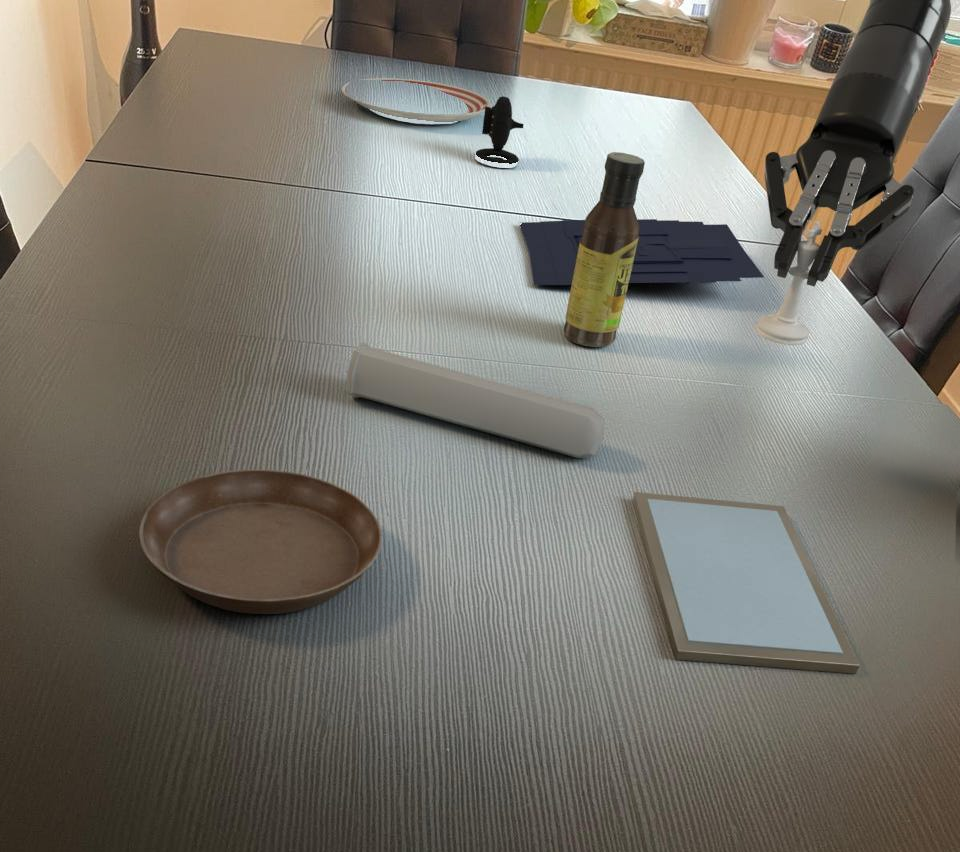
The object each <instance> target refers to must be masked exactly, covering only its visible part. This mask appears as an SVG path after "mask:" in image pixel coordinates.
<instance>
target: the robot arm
mask: <svg viewBox="0 0 960 852" xmlns="http://www.w3.org/2000/svg"><path fill="white" fill-rule="evenodd" d="M951 15H952V3H951V0H869V5H868V7H867V10H866V12H865V14H864V17H863V19H862V21H861V23H860V26H859V28H858V30H857V33H856V35H855V37H854V40H853V42H852V44H851V46H850V48H849V49H848V51H847V53H846V54H845V56H844V58H843V60H842V61H841V63H840V65H839V68H838V70H837V71H836V74H835V77H834V78H833V80H832V83H831V86H830V87H829V91H828V93H827V96H826V97H825V100H824V102H823V104H822V107H821V109H820V112H819V114H818V116H817V119H816V120H815V123H814V125H813V127H812V130H811V132H810V135H809V137H808V138H807V140H806V141H805V142H804V143H802V144H801V145H800V146H799V147H798V149H797V150H796V151H795V153H793V154H788V155H783V156H780V154H779V153H778V152H776V151H770V152H768V153H767V154H766V156H765V159H764V182H765V190H766V197H767V204H768V210H769V218H770V224H771V227H772V228H773V229H776V230H777V229H780V230H781V231H782V232H783V235H782V237H781V239H780V241H779V244H778V246H777V249H776V251H775V253H774V260H773V261H774V263H773V264H774V265H773V269H776V270H777V275H776V277H779V278H782V279H786V277H787V275H788V274H789V272H788V271H789V270H790V268H791V266H792V265H793V261H794V260H795V257H796V254H797V253H798V252H797V245H798V243H799V242H801V241H802V236H803V234H804V232H805V230H807V229H806V228H807V227H808V225H809V223H810V221H812V220H813V218H814V216H815V214H816V213H817V210H818V209H819V208H829V209H830V210H832V211H834V212H835V213H834V216H833V219H832V222H831V225H830V228H829V231H828V233H827V235H825V234H824V235H823V238H822V241H821V243H820V244H819V246H820V247H819V250H818V252H817V254H816V257H815V259H814V260H813V262H812V264H811V265H810V267H809V270H810V271H809V274H808V278H807V279H806V286H810V287H816V285H817V283H818V282H821V283H823V282H824V281H825V280H826V279H827V278H828V277H829V274H830V271H831V269H832V266H833V264H834V262H835V260H836V257H837V255H838V253H839V252H840V250H842V249H845V248H851V249H852V250H854V251H860V250H862V249H863V248H864V247H866V246H867V245H868V244H869V243H871V242H872V241H873V240H874V239H876V238H877V237H878V236H879V235H881V234H882V233H883V232H884V231H886V230H887V229H888V228H889V227H890V226H891V225H893V224H894V223H895V222H896V221H897V220H899V219H900V218H902V217H903V216H904V215H905V214H906V213H907V212H909V210H910V207H911V203H912V202H913V201H912V200H913V196H914V193H915V189H914V187H913V186H912V185H910V184H904V185H902V184H901V183H900V182H899V181H897V180H896V179H895V178H894V175H895V167H894V162H895V159H896V157H897V154H898V151H899V150H900V148H901V145H902V142H903V140H904V138H905V135H906V133H907V131H908V128H909V126H910V123H911V122H912V119H913V117H914V116H915V114H916V112H917V110H918V108H919V107H920V106H919V104H920V99H921V98H922V95H923V93H924V90H925V88H926V84H927V81H928V76H929V73H930V70H931V67H932V63H933V62H934V59H935V57H936V54H937V52H938V50H939V48H940V45H941V44H942V43H941V42H942V41H943V38H944V36H945V34H946V31H947V29H948V26H949V23H950V19H951ZM793 171H795V172H796V175H797V179H798V182H799V185H800V188H801V194H800V197H799V199H798V202H797V203H796V205H795V206H794V209H793V210H792V209H790V208H789V207H788V205H787V204H788V203H787V198H786V191H785V184H786V183H788V182H789V180H790V177H791V174H792V172H793ZM882 193H883V194H882ZM880 194H882V195H881V199H880V203H879V205H877V206H876V207H874V208H873V210H871V211H870V212H868V213H867V214H866V215H865V216H864V217H863V218H861V219H860V220H859V221H857V223H856V224H852V225H850V222H851V218H852V216H853V212H854V210H857V209H858V208H860V207H861V206H863V205H864V204H866V203H868V202H869V201H870V200H872V199H874V198H875V197H877V196H879V195H880Z"/></svg>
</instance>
